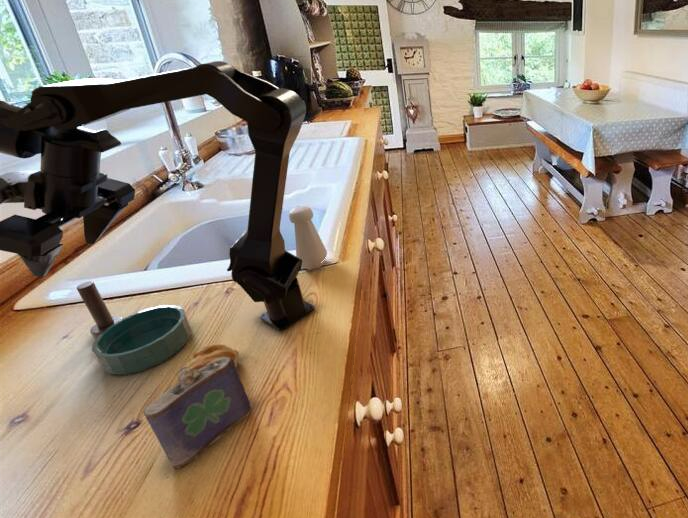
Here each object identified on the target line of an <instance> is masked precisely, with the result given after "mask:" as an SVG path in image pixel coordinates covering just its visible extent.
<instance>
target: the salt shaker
mask: <svg viewBox="0 0 688 518" xmlns="http://www.w3.org/2000/svg"><path fill="white" fill-rule="evenodd" d="M313 218H314V211H313V210H312V208H311V207H310V206H308V205H301V206H296V207H294V208H292V209H291V210H290V211H289V212H288V219H289V221H290V223H292V224H294V225H293V227H294V235H295V236H294V237H295V256H296V257H298V258H300V259H301V260H302V268H303V269H304V270H309V271H312V270H313V271H314V270H316V269H318V268H321V267H322V266H324V264H325V262H326V259H327V256H328V251H327V249H326V247H325V245H324V242H323V241H322V238H321V236H320V235H319V233H318V230H317V228H316V227H315V224H314V223H313V221H312V219H313ZM325 257H326V258H325ZM324 259H325V260H324ZM323 260H324V261H323ZM322 261H323V262H322ZM321 262H322V263H321Z"/></svg>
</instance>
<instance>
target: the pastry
mask: <svg viewBox="0 0 688 518" xmlns="http://www.w3.org/2000/svg"><path fill="white" fill-rule="evenodd" d="M220 357H229V358H231V359H233V360H234V363H235V366H236V368H237V366H238V359H239V351H237V349H234V348H232V347H230V346H227V345H225V344H223V343H217V344H215V343H214V344H211V345H207V346H204V347H202V348H201V349H200V350H198V351H195V352H194V353H193V354H192V356H191V357H190V358H188V363H187V364H186V366H187V367H186V368H184V369H183V371H184V370H185V369H187V368H189V369H188V370H189V371H191V370H199V369H200V368H202V367H204V366H206V365H207V364H208V363H210V362H212V361H215V360H217V359H218V358H220Z"/></svg>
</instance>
